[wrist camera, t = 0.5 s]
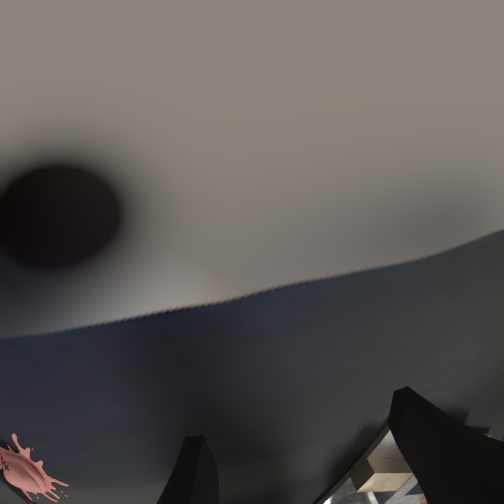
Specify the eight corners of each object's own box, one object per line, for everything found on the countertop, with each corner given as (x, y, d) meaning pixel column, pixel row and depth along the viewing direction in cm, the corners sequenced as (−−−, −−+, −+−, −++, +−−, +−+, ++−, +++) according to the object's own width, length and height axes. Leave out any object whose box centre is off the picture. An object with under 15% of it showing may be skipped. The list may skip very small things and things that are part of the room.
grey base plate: (426, 503, 28) (444, 531, 22) (309, 509, 25) (324, 555, 18) (488, 432, 27) (515, 459, 20) (387, 423, 23) (421, 471, 17)
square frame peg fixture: (419, 489, 26) (427, 501, 23) (332, 491, 23) (339, 509, 21) (463, 439, 25) (474, 451, 22) (383, 434, 22) (395, 451, 20)
